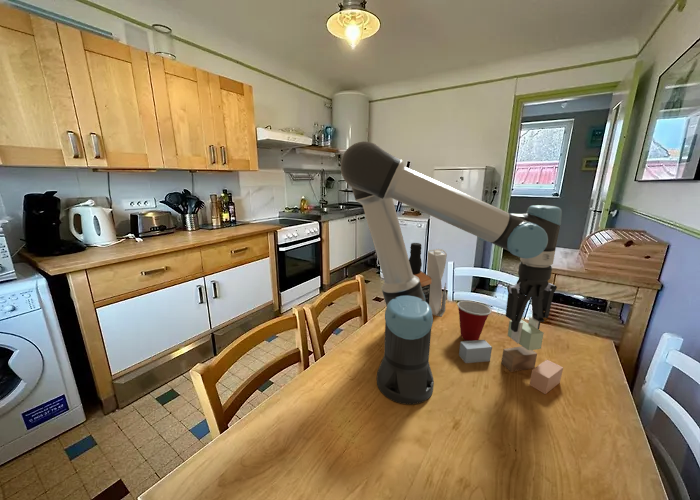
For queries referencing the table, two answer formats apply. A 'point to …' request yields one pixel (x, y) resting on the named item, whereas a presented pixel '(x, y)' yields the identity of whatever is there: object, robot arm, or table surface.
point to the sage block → (529, 336)
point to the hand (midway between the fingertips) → (522, 339)
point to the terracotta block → (546, 376)
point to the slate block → (475, 351)
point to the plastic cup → (472, 319)
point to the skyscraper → (436, 281)
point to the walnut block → (518, 358)
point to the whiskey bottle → (419, 269)
